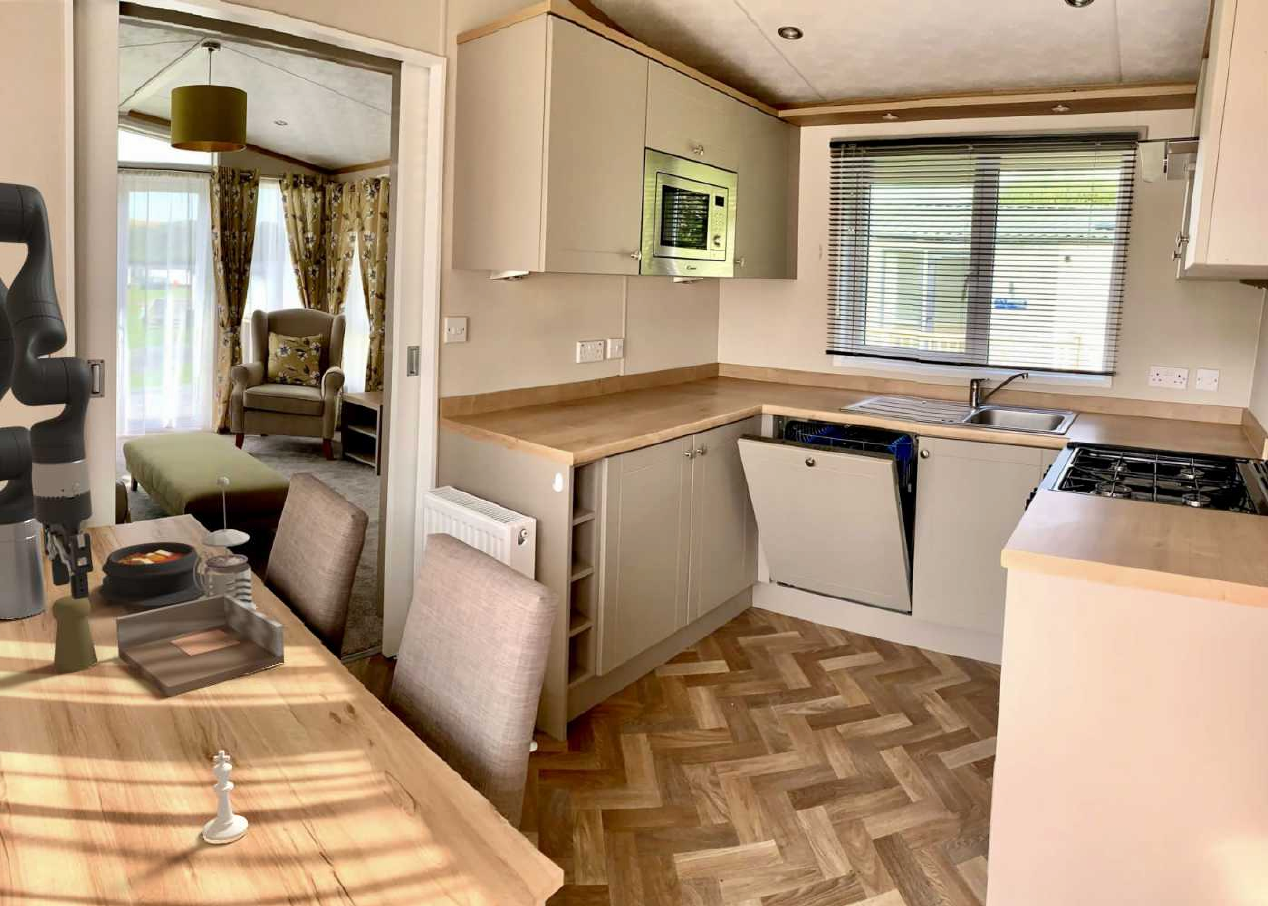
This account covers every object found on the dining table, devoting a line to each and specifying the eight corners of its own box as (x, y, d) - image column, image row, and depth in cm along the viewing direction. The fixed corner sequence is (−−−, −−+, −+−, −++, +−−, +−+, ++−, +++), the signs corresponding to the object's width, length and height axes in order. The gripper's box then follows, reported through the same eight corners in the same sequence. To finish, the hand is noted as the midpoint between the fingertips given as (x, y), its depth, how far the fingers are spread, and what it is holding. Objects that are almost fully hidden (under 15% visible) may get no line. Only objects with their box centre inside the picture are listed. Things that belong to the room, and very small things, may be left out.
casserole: (232, 601, 184) (230, 558, 183) (127, 625, 171) (123, 579, 170) (178, 569, 201) (176, 529, 200) (79, 588, 188) (75, 546, 187)
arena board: (118, 656, 158) (115, 618, 157) (228, 628, 171) (227, 593, 170) (168, 696, 145) (166, 655, 143) (284, 663, 158) (282, 625, 156)
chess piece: (210, 820, 114) (206, 741, 112) (254, 819, 115) (250, 740, 113) (195, 845, 109) (190, 762, 108) (241, 844, 110) (237, 762, 108)
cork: (78, 674, 151) (72, 606, 149) (44, 669, 152) (38, 602, 150) (106, 659, 157) (101, 593, 155) (73, 654, 158) (68, 589, 156)
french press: (269, 607, 182) (264, 475, 177) (219, 627, 171) (212, 488, 167) (230, 598, 186) (224, 469, 181) (179, 617, 175) (171, 481, 171)
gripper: (19, 484, 151) (29, 585, 154) (49, 501, 142) (59, 608, 145) (73, 478, 157) (81, 575, 160) (105, 493, 147) (113, 596, 150)
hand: (71, 591), depth 152 cm, fingers open, 8 cm apart
